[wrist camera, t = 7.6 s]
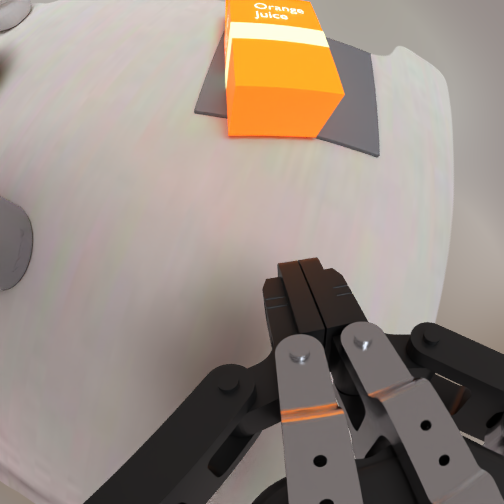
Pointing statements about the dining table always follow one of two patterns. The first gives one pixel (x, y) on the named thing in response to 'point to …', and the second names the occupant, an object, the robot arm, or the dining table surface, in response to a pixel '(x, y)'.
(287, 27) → the orange juice
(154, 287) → the dining table surface
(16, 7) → the cat figurine
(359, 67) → the mat
